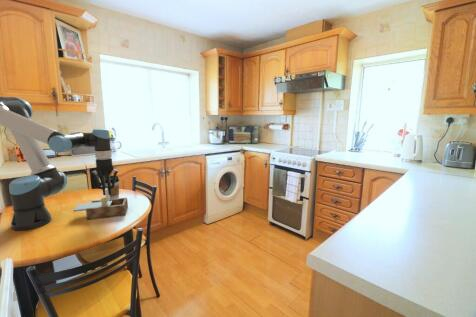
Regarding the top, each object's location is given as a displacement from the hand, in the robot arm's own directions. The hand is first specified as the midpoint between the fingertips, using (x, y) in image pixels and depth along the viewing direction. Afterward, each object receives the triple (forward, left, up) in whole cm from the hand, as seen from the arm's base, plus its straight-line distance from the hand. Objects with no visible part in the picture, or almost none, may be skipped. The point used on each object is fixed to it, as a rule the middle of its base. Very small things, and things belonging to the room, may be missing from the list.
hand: (108, 200), depth 129 cm
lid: (-7, 0, -3) cm, 8 cm away
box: (0, 0, -8) cm, 8 cm away
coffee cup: (-1, +21, -8) cm, 22 cm away
